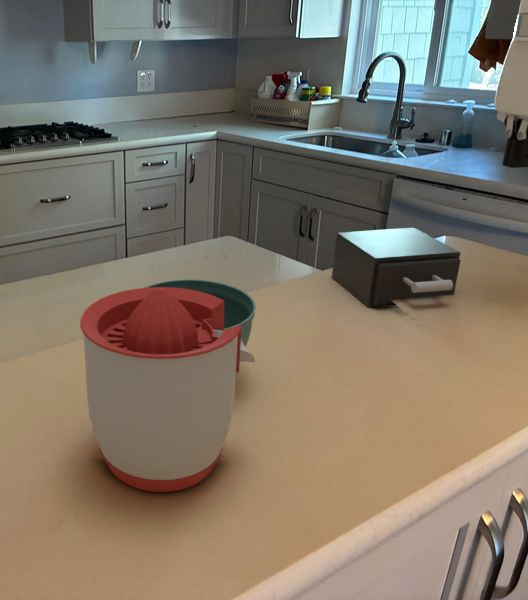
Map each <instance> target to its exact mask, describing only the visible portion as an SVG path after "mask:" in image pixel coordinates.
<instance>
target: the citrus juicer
mask: <svg viewBox="0 0 528 600" xmlns="http://www.w3.org/2000/svg"><path fill="white" fill-rule="evenodd" d="M79 326H80V329H81V332H82V334H83V344H84V346H83V347H84V362H85V377H86V378H85V380H86V397H87V405H88V406H87V407H88V414H89V418H90V423H91V425H92V429H93V434H94V436H95V439H96V442H97V444H98V448H99V451H100V454H101V456H102V458H103V460H104V461H105V463H106V464H107V467H108V468H109V469H110V471H111V472H112V474H113V475H114V476H115V477H116V478H117V479H118V480H119V481H121V482H123V483H125V484H126V485H128V486H131V487H133V488H135V489H138V490H142V491H146V492H155V493H168V492H169V493H171V492H177V491H181V490H182V491H183V490H185V489H188V488H191V487H193V486H196V485H197V484H199V483H200V482H202V481H203V480H204V479H205V478H206V477H207V476H209V474H210V473H211V472H212V470H213V468H214V467H215V465H216V463H217V462H218V460H219V458H220V457H221V454H222V451H223V448H224V444H225V443H226V440H227V436H228V434H229V430H230V425H231V423H232V419H233V413H234V407H235V406H234V405H235V396H236V395H235V393H236V377H237V376H236V375H237V374H239V373H240V364H241V363H243V362H244V363H256V360H255V357H254V355H253V354H252V352H250V351H249V349H248V348H247V346H246V347H245V345H244V343H243V341H242V339H241V328H242V327H241V325H238V326H235V327H231V328H227V329H225V330H224V301H223V300H221V299H219V298H217V297H215V296H213V295H210V294H207V293H203V292H200V291H195V290H190V289H183V288H173V287H148V288H144V287H141V288H132V289H127V290H122V291H118V292H115V293H111V294H108V295H106V296H104V297H102V298H99V299H98V300H96V301H95V302H93V303H91V304H90V305H89V306H88V307H87V308H86V309H85V310H84V311H83V313H82V315H81V317H80V323H79Z"/></svg>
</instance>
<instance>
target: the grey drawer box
mask: <svg viewBox="0 0 528 600" xmlns="http://www.w3.org/2000/svg"><path fill="white" fill-rule="evenodd" d="M333 254H334V255H333V262H332V271H331V272H332V273H331V278H332V280H334V281H335V282H337V283H338V284H339V285H340V286H341V287H342V288H344V289H345V290H346V291H347V292H348V293H350V294H351V295H352V296H353V297H354V298H356V299H357V300H358V301H360V303H361V304H363V305H364V306H365V307H367V308H369V309H370V308H377V307H378V308H379V306H381V307H390V306H389V305H393V306H397V304H396V303H395V304H385V305H375V304H374V303H373V295H374V288H375V282H376V275H377V268H378V264H379V263H380V262H393V261H407V260H420V259H434V258H446V259H447V258H458V259H459V260H460V259H461V257H460V256H461V254H462V253H461V251H459V250H457V249H456V248H453V247H452V246H450V245H448V244H446V243H444V242H442V241H440V240H438V239H436V238H435V237H432V236H431V235H428V234H427V233H425V232H423V231H421V230H419V229H417V228H415V227H403V228H402V227H401V228H388V229H375V230H374V229H373V230H371V229H370V230H357V231H342V232H336V237H335V247H334V253H333Z"/></svg>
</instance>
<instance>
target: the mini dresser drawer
mask: <svg viewBox="0 0 528 600" xmlns="http://www.w3.org/2000/svg"><path fill="white" fill-rule="evenodd" d="M461 261H462V260H461V259H460V258H459V259H458V258H447V259H446V258H434V259H420V260H412V261H406V262H393V263H383V262H380V263H379V264H378V268H377V275H376V282H375V288H374V295H373V303H374V304H375V305H385V304H396V303H395V302H393V300H394V301H395V300H405V299H406V300H407V299H419V298H430V297H442V296H454V294H455V290H456V285H457V280H458V276H459V271H460V266H461Z"/></svg>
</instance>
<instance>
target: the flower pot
mask: <svg viewBox="0 0 528 600" xmlns="http://www.w3.org/2000/svg"><path fill="white" fill-rule="evenodd" d="M148 287H173V288H183V289H190V290H195V291H200V292H203V293H207V294H210V295H213V296H215V297H217V298H219V299H221V300H223V301H224V330H225V329H227V328H231V327H235V326H238V325H241V327H242V328H241V339H242V341H243V343H244V345H245V347H246V348H247V345H248V343H249V340H250V336H251V332H252V328H253V327H252V326H253V321H254V317H255V313H256V309H257V304H256V302H255V300H254V299H253V297H252V296H251V295H250V294H248V293H247V292H245V291H244V290H243V289H241V288H239V287H236V286H233V285H231V284H227V283H223V282H220V281H213V280H209V279H208V280H207V279H197V278H195V279H193V278H192V279H191V278H189V279H185V278H183V279H172V280H171V279H170V280H164V281H160V282H155V283H152V284H149V285H146V286H144V287H143V288H148Z"/></svg>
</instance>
